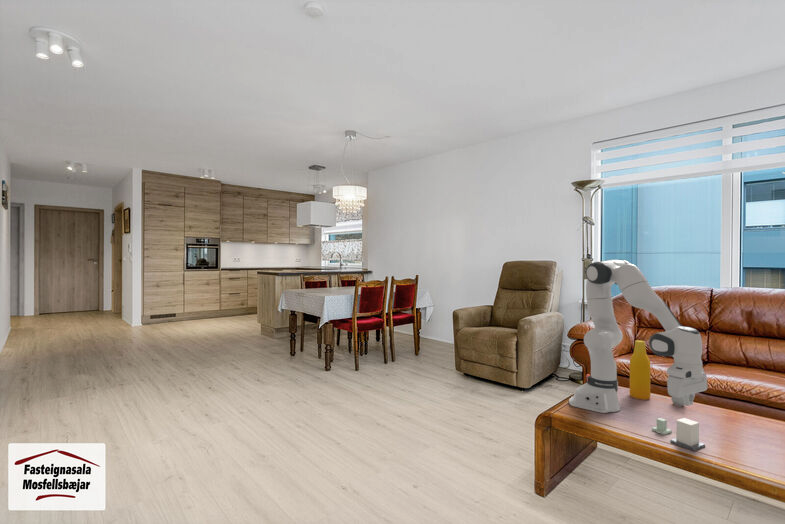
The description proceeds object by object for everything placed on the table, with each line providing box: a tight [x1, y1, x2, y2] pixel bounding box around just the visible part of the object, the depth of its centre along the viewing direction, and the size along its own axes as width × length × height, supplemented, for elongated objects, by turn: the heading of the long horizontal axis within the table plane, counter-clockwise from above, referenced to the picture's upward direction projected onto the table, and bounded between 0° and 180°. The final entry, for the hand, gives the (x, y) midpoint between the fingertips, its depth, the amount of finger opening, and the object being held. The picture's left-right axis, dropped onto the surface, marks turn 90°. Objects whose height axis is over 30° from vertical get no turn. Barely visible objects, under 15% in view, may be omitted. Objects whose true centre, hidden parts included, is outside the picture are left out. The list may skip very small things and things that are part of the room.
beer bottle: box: [629, 339, 652, 401], centre depth 207 cm, size 9×9×29 cm
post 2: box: [670, 437, 706, 452], centre depth 155 cm, size 8×8×7 cm
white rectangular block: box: [675, 417, 700, 446], centre depth 155 cm, size 5×5×8 cm
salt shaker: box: [671, 396, 685, 407], centre depth 196 cm, size 6×6×13 cm
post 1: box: [651, 417, 672, 436], centre depth 167 cm, size 5×5×5 cm
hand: (688, 404), depth 155 cm, fingers closed
